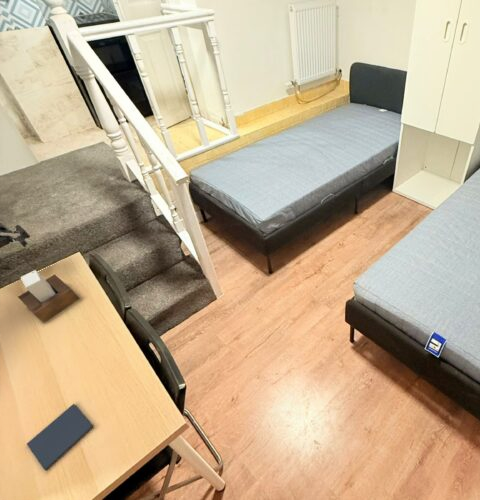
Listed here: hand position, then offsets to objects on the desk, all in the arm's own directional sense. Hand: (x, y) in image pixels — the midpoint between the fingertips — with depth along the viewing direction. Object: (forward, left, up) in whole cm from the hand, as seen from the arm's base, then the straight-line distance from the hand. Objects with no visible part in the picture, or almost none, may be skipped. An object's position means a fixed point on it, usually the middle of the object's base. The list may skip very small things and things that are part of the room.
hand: (8, 252), depth 102 cm
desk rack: (-1, -12, -16) cm, 20 cm away
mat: (-19, -55, -16) cm, 60 cm away
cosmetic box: (-1, -12, -16) cm, 20 cm away
